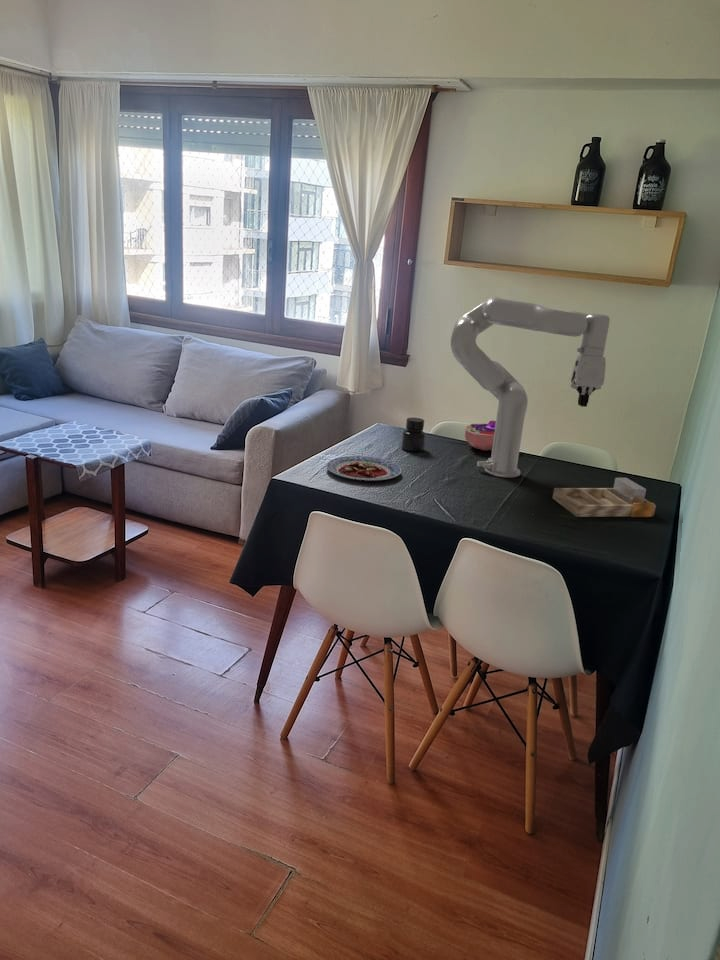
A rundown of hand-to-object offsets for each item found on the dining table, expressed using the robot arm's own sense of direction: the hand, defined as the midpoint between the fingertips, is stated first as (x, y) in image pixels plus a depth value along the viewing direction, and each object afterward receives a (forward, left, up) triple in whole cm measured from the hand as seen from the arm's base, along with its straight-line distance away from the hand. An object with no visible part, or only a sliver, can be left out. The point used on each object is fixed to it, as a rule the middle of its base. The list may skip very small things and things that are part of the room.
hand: (582, 405), depth 230 cm
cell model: (-17, +38, -27) cm, 50 cm away
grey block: (+6, -26, -26) cm, 37 cm away
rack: (-2, -26, -27) cm, 38 cm away
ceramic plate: (-73, +7, -28) cm, 79 cm away
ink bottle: (-48, +36, -27) cm, 66 cm away
